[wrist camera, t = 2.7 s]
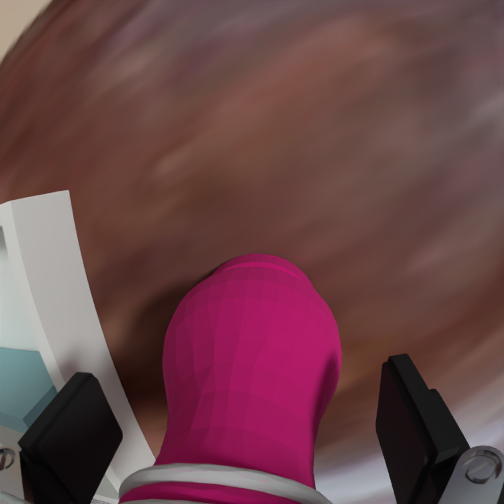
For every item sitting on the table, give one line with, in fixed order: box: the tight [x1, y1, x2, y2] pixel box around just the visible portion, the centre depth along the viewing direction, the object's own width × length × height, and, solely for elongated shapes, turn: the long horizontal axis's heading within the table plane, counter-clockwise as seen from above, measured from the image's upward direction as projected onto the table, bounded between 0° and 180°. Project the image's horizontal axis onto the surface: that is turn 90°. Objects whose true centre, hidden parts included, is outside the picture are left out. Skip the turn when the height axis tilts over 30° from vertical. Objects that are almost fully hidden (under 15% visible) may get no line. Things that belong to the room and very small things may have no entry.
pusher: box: [0, 347, 58, 434], centre depth 16 cm, size 5×11×7 cm, turn 98°
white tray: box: [0, 190, 156, 504], centre depth 17 cm, size 22×14×5 cm, turn 8°
